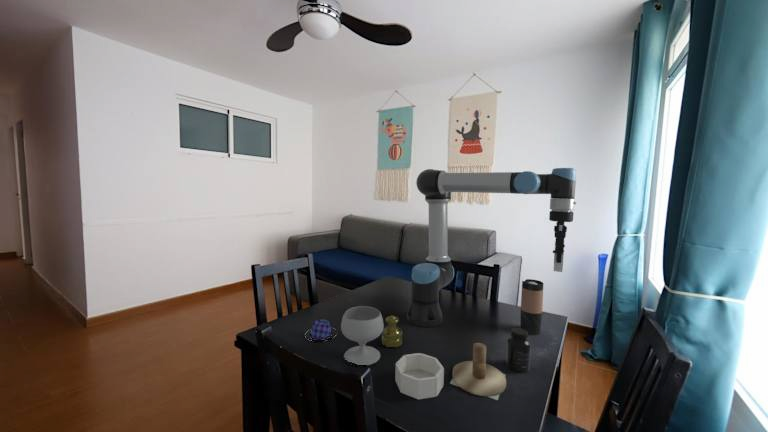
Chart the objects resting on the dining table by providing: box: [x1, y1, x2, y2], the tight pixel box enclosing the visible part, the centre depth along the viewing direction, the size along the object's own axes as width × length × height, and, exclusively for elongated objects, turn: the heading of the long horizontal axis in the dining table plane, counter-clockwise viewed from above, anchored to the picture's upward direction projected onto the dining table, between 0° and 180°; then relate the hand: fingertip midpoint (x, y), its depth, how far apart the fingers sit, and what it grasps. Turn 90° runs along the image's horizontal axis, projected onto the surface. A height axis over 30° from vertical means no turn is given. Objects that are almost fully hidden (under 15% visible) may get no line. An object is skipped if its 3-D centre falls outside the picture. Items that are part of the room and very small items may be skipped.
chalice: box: [340, 305, 385, 366], centre depth 98 cm, size 14×14×15 cm
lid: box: [451, 342, 507, 397], centre depth 86 cm, size 15×15×10 cm
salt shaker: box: [381, 315, 403, 348], centre depth 107 cm, size 7×7×10 cm
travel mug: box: [519, 278, 544, 336], centre depth 117 cm, size 8×8×20 cm
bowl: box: [394, 352, 445, 400], centre depth 84 cm, size 13×13×6 cm
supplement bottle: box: [505, 327, 532, 374], centre depth 93 cm, size 7×7×12 cm
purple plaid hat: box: [304, 319, 338, 342], centre depth 113 cm, size 12×12×5 cm
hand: (557, 267), depth 110 cm, fingers open, 13 cm apart
